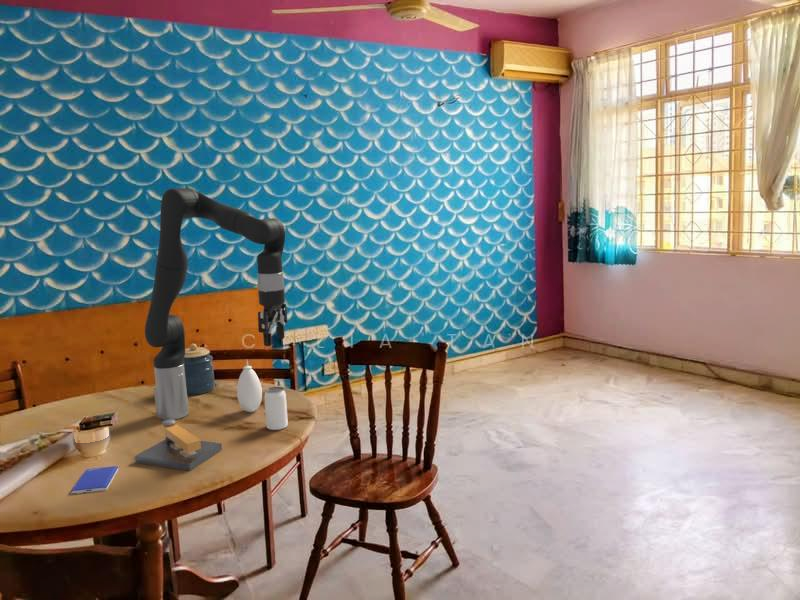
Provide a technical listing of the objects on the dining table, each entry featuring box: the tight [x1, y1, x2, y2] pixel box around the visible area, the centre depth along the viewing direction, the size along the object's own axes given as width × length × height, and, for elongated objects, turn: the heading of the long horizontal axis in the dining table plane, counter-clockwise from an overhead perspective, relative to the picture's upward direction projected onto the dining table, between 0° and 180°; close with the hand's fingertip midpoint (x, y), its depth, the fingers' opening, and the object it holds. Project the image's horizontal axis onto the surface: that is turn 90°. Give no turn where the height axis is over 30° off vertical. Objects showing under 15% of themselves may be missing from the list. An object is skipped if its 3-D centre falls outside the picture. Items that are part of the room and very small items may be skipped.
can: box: [264, 386, 289, 431], centre depth 198 cm, size 6×6×12 cm
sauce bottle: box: [236, 359, 263, 413], centre depth 212 cm, size 8×8×18 cm
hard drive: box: [70, 465, 119, 495], centre depth 166 cm, size 2×8×12 cm
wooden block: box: [161, 419, 201, 453], centre depth 180 cm, size 20×4×5 cm, turn 40°
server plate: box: [134, 438, 223, 472], centre depth 179 cm, size 18×14×2 cm
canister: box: [184, 343, 216, 396], centre depth 238 cm, size 13×13×18 cm
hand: (274, 342), depth 190 cm, fingers open, 8 cm apart
